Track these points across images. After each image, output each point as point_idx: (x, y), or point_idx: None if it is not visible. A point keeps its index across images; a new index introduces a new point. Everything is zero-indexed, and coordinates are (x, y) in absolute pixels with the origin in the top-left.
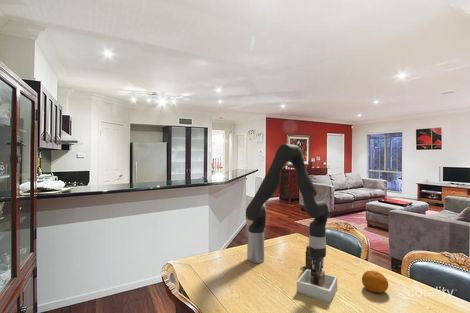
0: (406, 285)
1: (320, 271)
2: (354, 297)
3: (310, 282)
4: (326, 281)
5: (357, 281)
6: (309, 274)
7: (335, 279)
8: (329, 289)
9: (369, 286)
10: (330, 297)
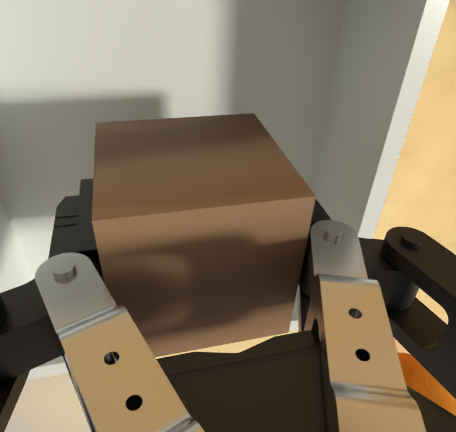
0: None
1: (260, 303)
2: (227, 348)
3: (260, 37)
4: (320, 201)
5: (437, 303)
6: (383, 2)
7: (289, 328)
8: (40, 368)
9: None
10: None
